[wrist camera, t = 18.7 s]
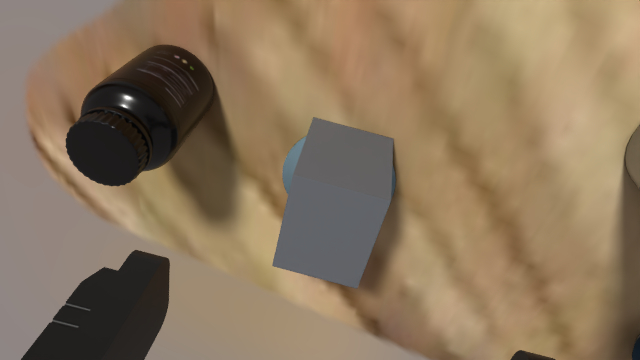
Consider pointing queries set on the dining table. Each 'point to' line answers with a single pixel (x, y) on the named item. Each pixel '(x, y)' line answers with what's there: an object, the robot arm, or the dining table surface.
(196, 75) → the supplement bottle
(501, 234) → the dining table surface
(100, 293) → the robot arm
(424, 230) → the dining table surface
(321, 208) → the rectangular block
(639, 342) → the soda can
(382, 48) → the dining table surface
